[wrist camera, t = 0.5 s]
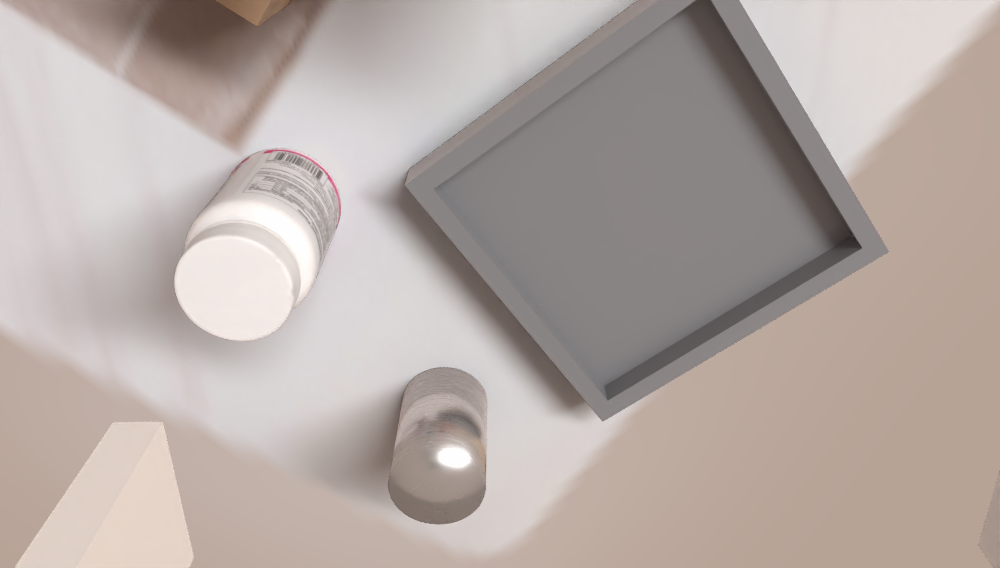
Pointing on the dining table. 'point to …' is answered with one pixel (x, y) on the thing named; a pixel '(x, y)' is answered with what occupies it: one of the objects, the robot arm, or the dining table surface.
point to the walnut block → (255, 8)
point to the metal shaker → (440, 447)
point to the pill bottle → (258, 245)
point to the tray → (648, 199)
